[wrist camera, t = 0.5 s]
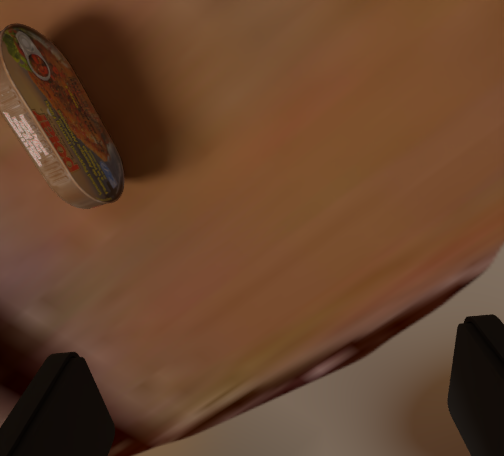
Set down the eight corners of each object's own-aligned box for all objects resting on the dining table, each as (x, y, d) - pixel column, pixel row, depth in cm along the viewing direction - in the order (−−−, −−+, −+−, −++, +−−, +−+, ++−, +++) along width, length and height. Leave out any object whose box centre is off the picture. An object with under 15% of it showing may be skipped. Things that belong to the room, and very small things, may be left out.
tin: (135, 182, 38) (104, 217, 30) (108, 192, 39) (71, 229, 31) (49, 23, 32) (-16, 18, 24) (18, 38, 32) (-55, 37, 25)
